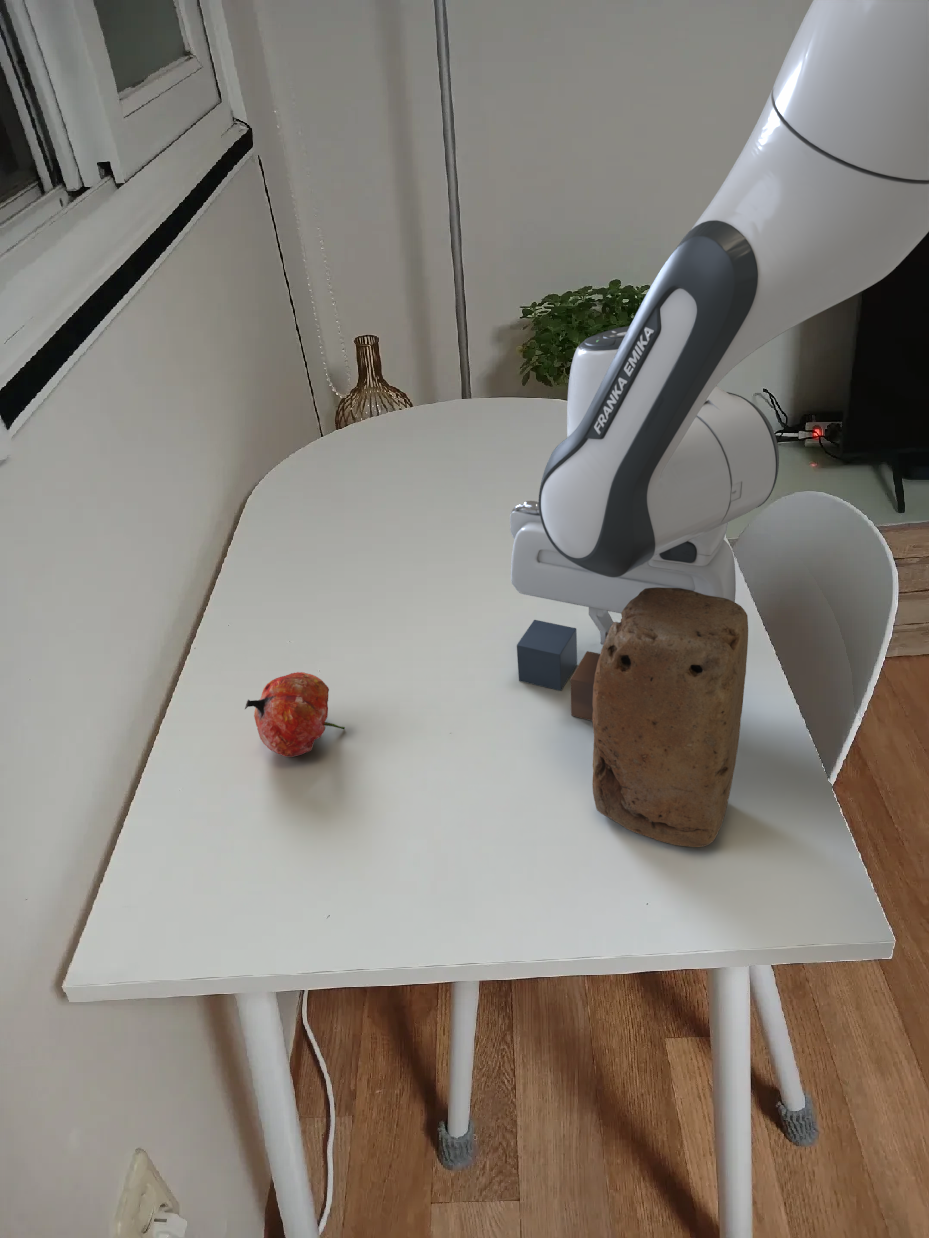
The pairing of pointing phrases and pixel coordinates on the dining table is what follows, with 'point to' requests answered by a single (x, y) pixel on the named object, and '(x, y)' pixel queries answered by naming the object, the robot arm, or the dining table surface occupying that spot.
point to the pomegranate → (292, 713)
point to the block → (669, 714)
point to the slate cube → (547, 654)
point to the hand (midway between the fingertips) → (618, 643)
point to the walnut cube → (584, 686)
